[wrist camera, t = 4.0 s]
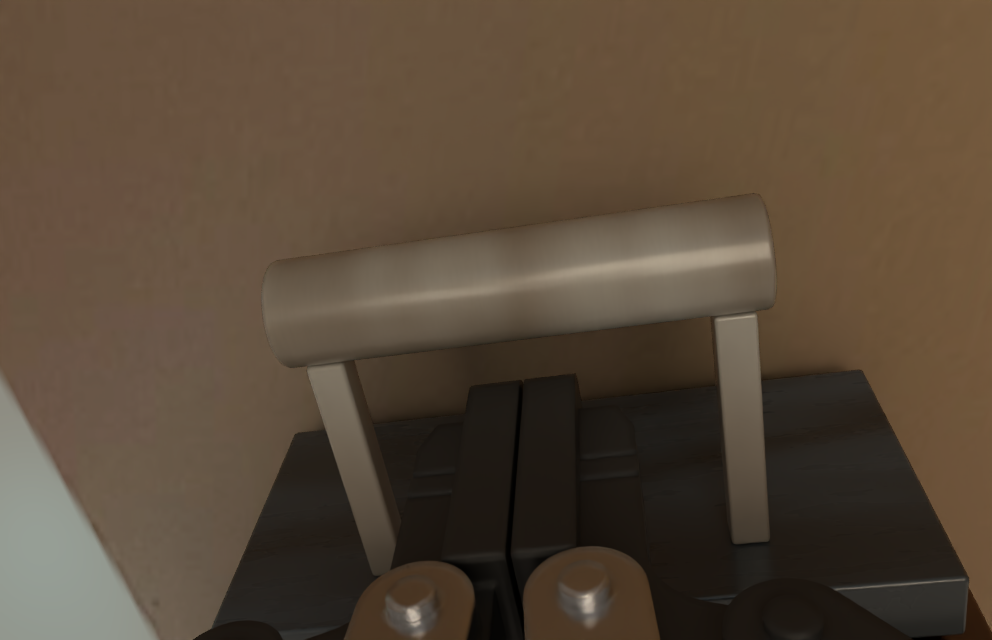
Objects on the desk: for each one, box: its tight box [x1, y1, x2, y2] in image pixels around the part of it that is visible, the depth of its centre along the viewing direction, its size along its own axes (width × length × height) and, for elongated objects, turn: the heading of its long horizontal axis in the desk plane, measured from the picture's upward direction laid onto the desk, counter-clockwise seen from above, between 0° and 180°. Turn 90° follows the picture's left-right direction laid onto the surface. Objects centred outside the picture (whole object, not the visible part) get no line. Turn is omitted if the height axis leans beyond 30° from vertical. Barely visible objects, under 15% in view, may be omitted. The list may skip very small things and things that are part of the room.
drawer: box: [211, 193, 969, 640], centre depth 18 cm, size 17×12×6 cm
